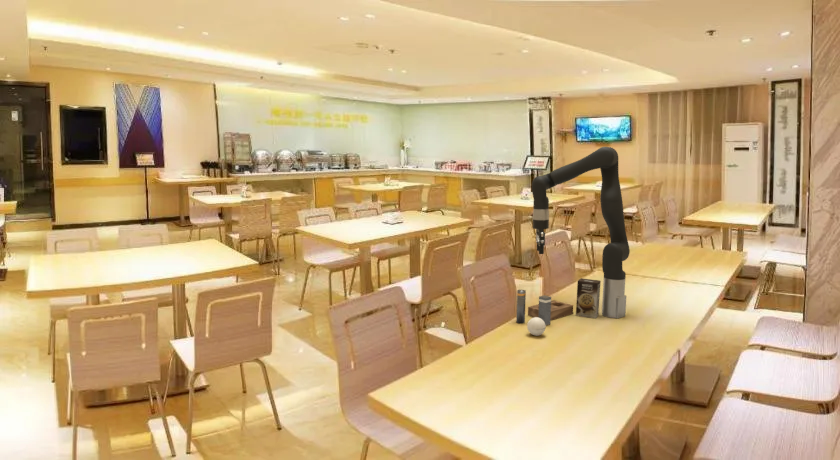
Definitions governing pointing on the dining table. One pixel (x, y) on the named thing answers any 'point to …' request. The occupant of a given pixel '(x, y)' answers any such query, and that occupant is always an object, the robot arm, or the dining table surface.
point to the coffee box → (588, 298)
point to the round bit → (521, 306)
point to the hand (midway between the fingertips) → (540, 252)
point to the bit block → (553, 310)
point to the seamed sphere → (536, 326)
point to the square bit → (545, 309)
